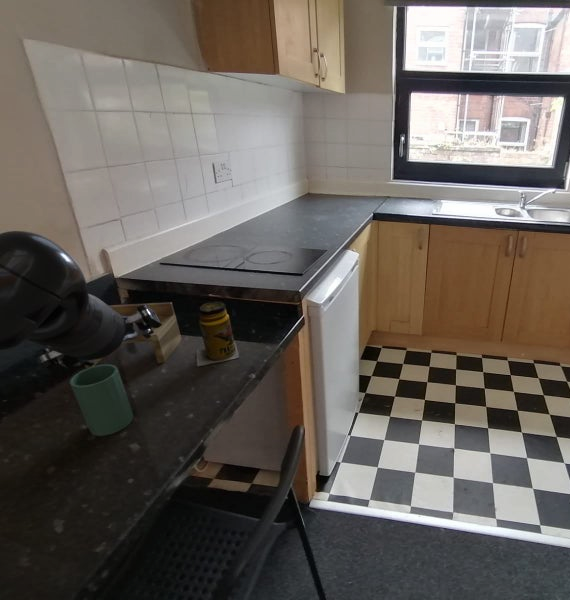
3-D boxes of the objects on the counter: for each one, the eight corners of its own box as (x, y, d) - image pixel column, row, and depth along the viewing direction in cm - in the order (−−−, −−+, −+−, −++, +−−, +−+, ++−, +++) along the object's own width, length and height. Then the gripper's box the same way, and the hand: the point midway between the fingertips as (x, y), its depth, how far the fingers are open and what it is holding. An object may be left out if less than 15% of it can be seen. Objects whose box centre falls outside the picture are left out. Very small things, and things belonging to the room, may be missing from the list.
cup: (80, 431, 68) (59, 382, 64) (115, 407, 74) (98, 361, 70) (108, 439, 66) (89, 390, 62) (142, 414, 72) (126, 367, 68)
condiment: (239, 358, 89) (229, 309, 84) (197, 367, 86) (184, 317, 81) (235, 343, 95) (226, 296, 90) (196, 351, 92) (184, 303, 87)
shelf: (85, 368, 86) (69, 326, 81) (110, 344, 95) (97, 305, 90) (165, 362, 87) (153, 321, 83) (181, 339, 96) (172, 302, 92)
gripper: (127, 276, 53) (153, 305, 68) (-3, 328, 47) (57, 348, 62) (154, 324, 53) (175, 343, 68) (28, 382, 47) (80, 390, 62)
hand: (118, 345), depth 65 cm, fingers open, 8 cm apart
